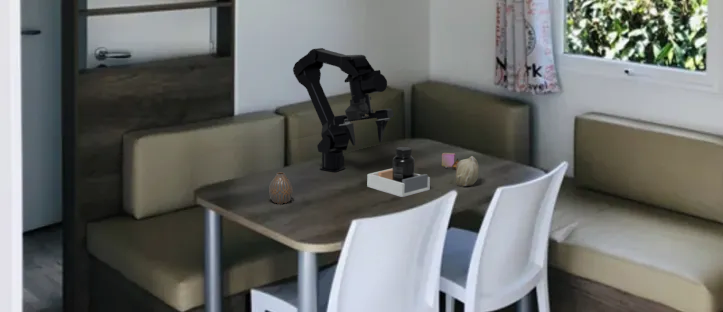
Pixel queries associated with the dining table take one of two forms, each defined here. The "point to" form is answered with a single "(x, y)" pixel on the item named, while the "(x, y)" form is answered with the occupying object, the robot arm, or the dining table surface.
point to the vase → (280, 189)
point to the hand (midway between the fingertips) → (367, 143)
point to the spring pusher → (386, 174)
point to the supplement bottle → (403, 164)
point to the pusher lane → (399, 184)
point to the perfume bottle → (449, 160)
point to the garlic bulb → (467, 172)
